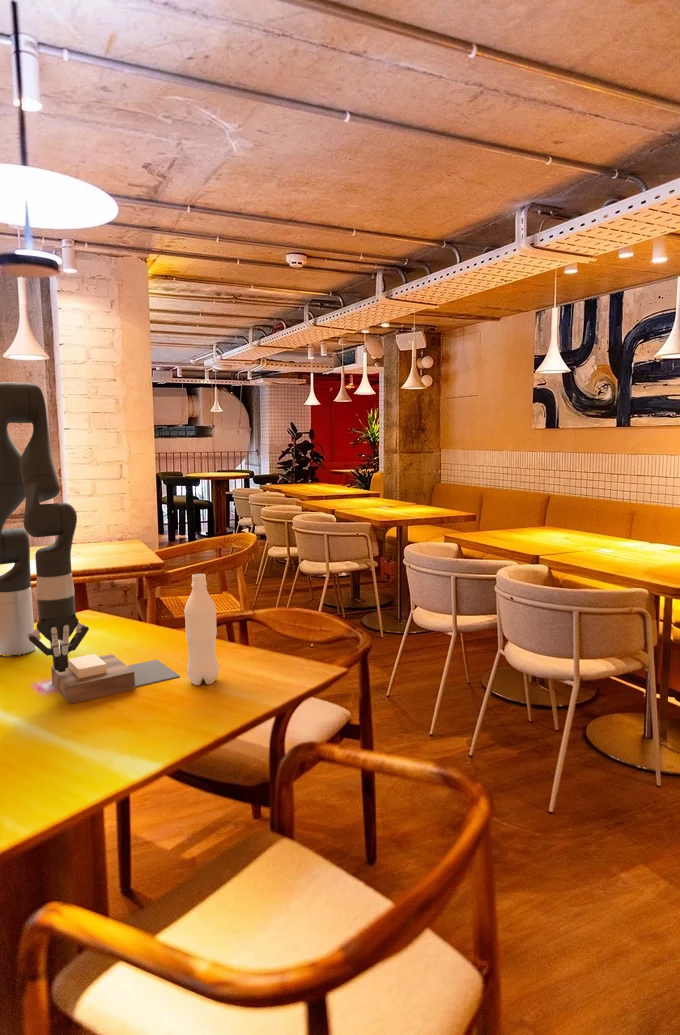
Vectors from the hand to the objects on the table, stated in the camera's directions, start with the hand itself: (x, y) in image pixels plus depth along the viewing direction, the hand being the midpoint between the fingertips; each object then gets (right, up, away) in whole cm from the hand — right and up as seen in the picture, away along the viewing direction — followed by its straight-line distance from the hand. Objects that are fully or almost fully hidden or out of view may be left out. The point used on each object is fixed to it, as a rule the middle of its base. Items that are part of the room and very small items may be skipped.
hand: (61, 671), depth 146 cm
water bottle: (+30, -4, +6) cm, 31 cm away
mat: (+15, -3, +12) cm, 20 cm away
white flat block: (+5, -1, +3) cm, 6 cm away
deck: (+5, -4, +4) cm, 8 cm away
